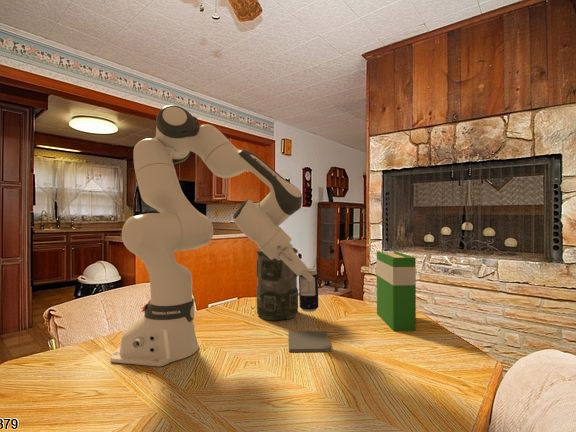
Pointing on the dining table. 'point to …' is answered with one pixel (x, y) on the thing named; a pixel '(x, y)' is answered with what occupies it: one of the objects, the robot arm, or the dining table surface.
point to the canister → (276, 289)
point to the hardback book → (396, 290)
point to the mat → (308, 341)
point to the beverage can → (308, 292)
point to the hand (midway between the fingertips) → (310, 277)
